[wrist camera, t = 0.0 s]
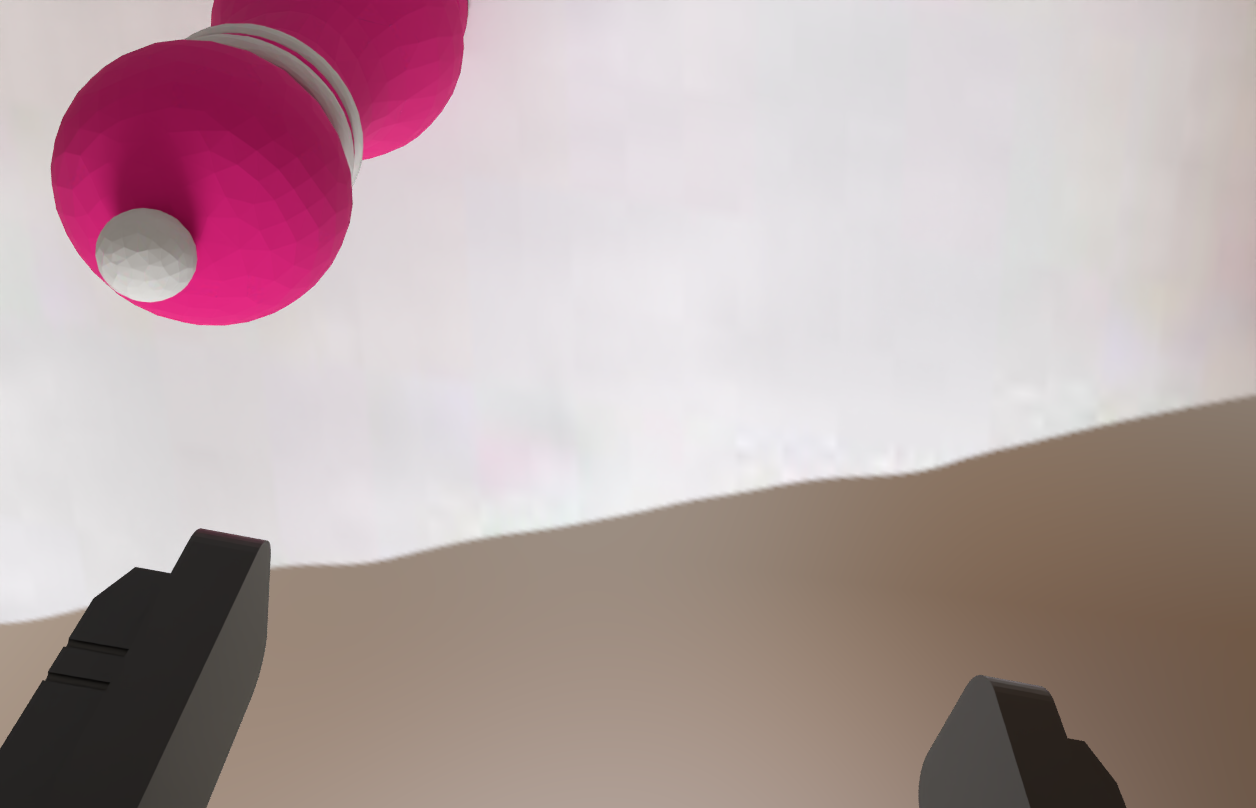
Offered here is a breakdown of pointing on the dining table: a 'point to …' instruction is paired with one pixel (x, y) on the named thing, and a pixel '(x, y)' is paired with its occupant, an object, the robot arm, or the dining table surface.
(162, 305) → the pepper mill
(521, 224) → the dining table surface
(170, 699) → the robot arm
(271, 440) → the dining table surface
